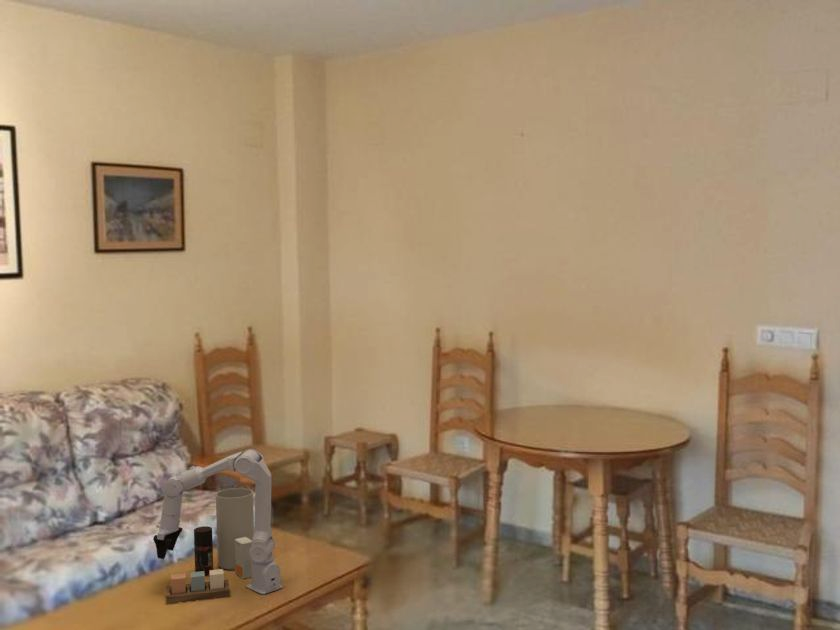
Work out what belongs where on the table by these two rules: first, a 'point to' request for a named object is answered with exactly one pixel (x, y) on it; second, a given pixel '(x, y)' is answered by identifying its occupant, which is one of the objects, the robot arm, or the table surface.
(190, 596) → the socket board
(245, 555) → the skincare box
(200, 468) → the robot arm
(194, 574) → the slate blue key
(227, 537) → the cylinder vase
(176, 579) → the terracotta key
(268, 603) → the table surface
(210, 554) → the deodorant
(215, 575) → the cream key
